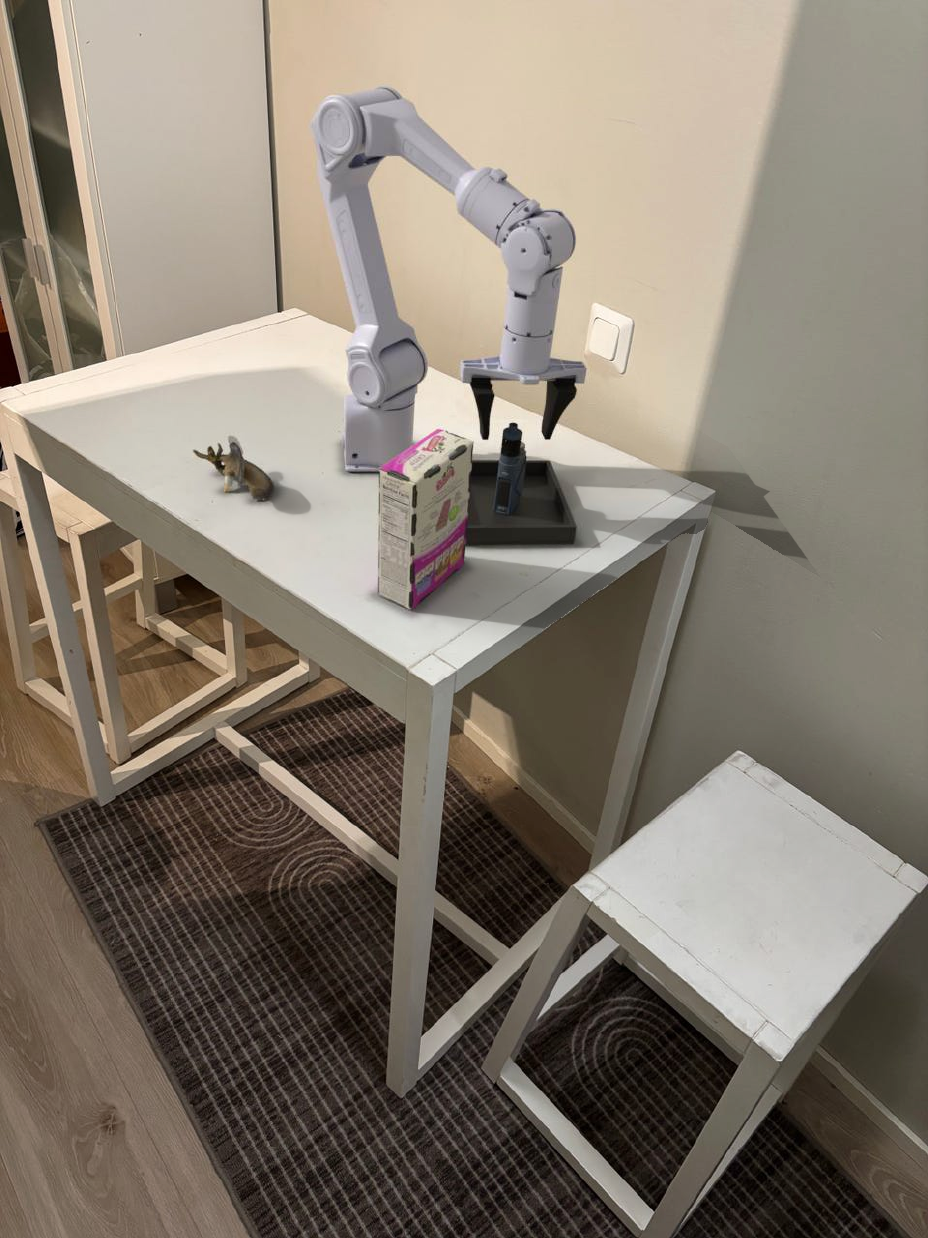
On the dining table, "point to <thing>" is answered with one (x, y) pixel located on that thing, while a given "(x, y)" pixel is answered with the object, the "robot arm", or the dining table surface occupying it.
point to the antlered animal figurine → (239, 469)
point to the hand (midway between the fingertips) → (515, 435)
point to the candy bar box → (423, 517)
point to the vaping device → (510, 470)
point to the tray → (519, 508)
